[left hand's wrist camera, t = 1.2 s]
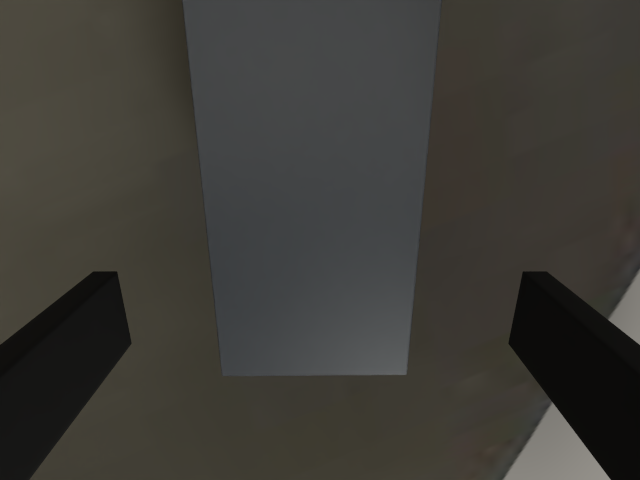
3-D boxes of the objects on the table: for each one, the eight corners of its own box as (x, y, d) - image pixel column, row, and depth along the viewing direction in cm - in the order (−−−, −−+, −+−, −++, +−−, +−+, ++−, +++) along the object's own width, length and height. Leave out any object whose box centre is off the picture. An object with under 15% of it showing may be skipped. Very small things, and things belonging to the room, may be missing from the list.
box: (369, 260, 26) (407, 375, 15) (260, 261, 25) (221, 376, 15) (390, -168, 18) (492, -530, 8) (235, -169, 18) (124, -534, 8)
